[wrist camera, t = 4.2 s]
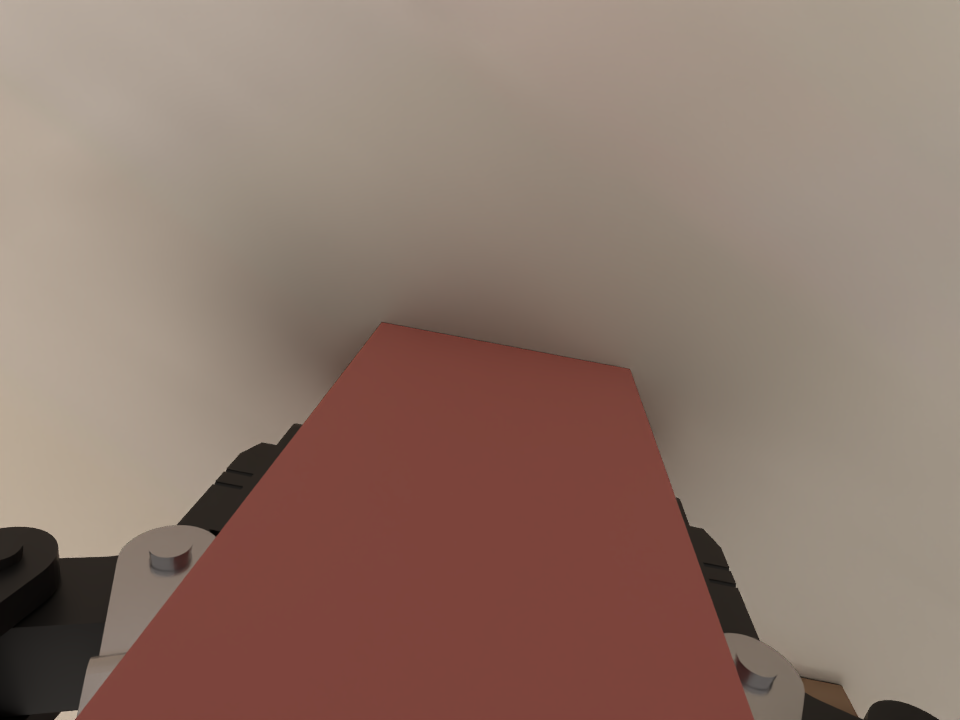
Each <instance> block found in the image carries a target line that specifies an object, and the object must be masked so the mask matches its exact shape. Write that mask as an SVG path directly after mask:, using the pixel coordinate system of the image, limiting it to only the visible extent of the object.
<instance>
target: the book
mask: <svg viewBox="0 0 960 720" xmlns="http://www.w3.org/2000/svg"><path fill="white" fill-rule="evenodd" d="M75 720H754V718H753V715H752V712H751V709H750V706H749V704H748V701H747V698H746V695H745V692H744V689H743V687H742V684H741V681H740V678H739V675H738V673H737V670H736V667H735V664H734V661H733V658H732V656H731V653H730V650H729V647H728V644H727V642H726V639H725V636H724V633H723V630H722V627H721V625H720V622H719V619H718V616H717V613H716V611H715V608H714V605H713V602H712V599H711V596H710V594H709V591H708V588H707V585H706V582H705V580H704V577H703V574H702V571H701V568H700V565H699V563H698V560H697V557H696V554H695V551H694V549H693V546H692V543H691V540H690V537H689V534H688V532H687V529H686V526H685V523H684V520H683V518H682V515H681V512H680V509H679V506H678V503H677V501H676V498H675V495H674V492H673V489H672V486H671V484H670V481H669V478H668V475H667V472H666V470H665V467H664V464H663V461H662V458H661V455H660V453H659V450H658V447H657V444H656V441H655V439H654V436H653V433H652V430H651V427H650V424H649V422H648V419H647V416H646V413H645V410H644V408H643V405H642V402H641V399H640V396H639V393H638V391H637V388H636V385H635V382H634V379H633V377H632V374H631V371H630V369H626V368H621V367H616V366H611V365H605V364H600V363H595V362H589V361H584V360H579V359H574V358H568V357H563V356H558V355H552V354H547V353H542V352H537V351H531V350H526V349H521V348H515V347H510V346H505V345H500V344H494V343H489V342H484V341H478V340H473V339H468V338H463V337H457V336H452V335H447V334H441V333H436V332H431V331H426V330H420V329H415V328H410V327H404V326H399V325H394V324H389V323H383V322H382V323H381V324H380V325H379V327H378V328H377V329H376V330H375V332H374V333H373V334H372V336H371V337H370V338H369V339H368V341H367V342H366V343H365V345H364V346H363V347H362V349H361V350H360V351H359V352H358V354H357V355H356V356H355V358H354V359H353V360H352V362H351V363H350V364H349V365H348V367H347V368H346V369H345V371H344V372H343V373H342V374H341V376H340V377H339V378H338V380H337V381H336V382H335V384H334V385H333V386H332V387H331V389H330V390H329V391H328V393H327V394H326V395H325V396H324V398H323V399H322V400H321V402H320V403H319V404H318V406H317V407H316V408H315V409H314V411H313V412H312V413H311V415H310V416H309V417H308V419H307V420H306V421H305V422H304V424H303V425H302V426H301V428H300V429H299V430H298V431H297V433H296V434H295V435H294V437H293V438H292V439H291V441H290V442H289V443H288V444H287V446H286V447H285V448H284V450H283V451H282V452H281V453H280V455H279V456H278V457H277V459H276V460H275V461H274V463H273V464H272V465H271V466H270V468H269V469H268V470H267V472H266V473H265V474H264V475H263V477H262V478H261V479H260V481H259V482H258V483H257V485H256V486H255V487H254V488H253V490H252V491H251V492H250V494H249V495H248V496H247V498H246V499H245V500H244V501H243V503H242V504H241V505H240V507H239V508H238V509H237V510H236V512H235V513H234V514H233V516H232V517H231V518H230V520H229V521H228V522H227V523H226V525H225V526H224V527H223V529H222V530H221V531H220V532H219V534H218V535H217V536H216V538H215V539H214V540H213V542H212V543H211V544H210V545H209V547H208V548H207V549H206V551H205V552H204V553H203V555H202V556H201V557H200V558H199V560H198V561H197V562H196V564H195V565H194V566H193V567H192V569H191V570H190V571H189V573H188V574H187V575H186V577H185V578H184V579H183V580H182V582H181V583H180V584H179V586H178V587H177V588H176V589H175V591H174V592H173V593H172V595H171V596H170V597H169V599H168V600H167V601H166V602H165V604H164V605H163V606H162V608H161V609H160V610H159V612H158V613H157V614H156V615H155V617H154V618H153V619H152V621H151V622H150V623H149V624H148V626H147V627H146V628H145V630H144V631H143V632H142V634H141V635H140V636H139V637H138V639H137V640H136V641H135V643H134V644H133V645H132V646H131V648H130V649H129V650H128V652H127V653H126V654H125V656H124V657H123V658H122V659H121V661H120V662H119V663H118V665H117V666H116V667H115V668H114V670H113V671H112V672H111V674H110V675H109V676H108V678H107V679H106V680H105V681H104V683H103V684H102V685H101V687H100V688H99V689H98V691H97V692H96V693H95V694H94V696H93V697H92V698H91V700H90V701H89V702H88V703H87V705H86V706H85V707H84V709H83V710H82V711H81V713H80V714H79V715H78V716H77V718H76V719H75Z"/></svg>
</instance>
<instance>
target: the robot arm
mask: <svg viewBox="0 0 960 720" xmlns="http://www.w3.org/2000/svg"><path fill="white" fill-rule="evenodd" d="M301 426H302V424H293V425H292V427H291V428H290V429H289V430H288V432H287V433H286V434H285V435H284V437H283V438H282V439H281V440H280V442H279V443H278V444H277V445H273V444H267V443H260V444H258V445H256V446H254V447H252V448H250V449H248V450H246V451H244V452H242V453H240V454H239V455H238V457H237V458H236V459H235V460H234V461H233V462H232V463H231V464H230V466H229V467H228V468H227V470H226V472H223V473H222V475H221V476H220V477H219V478H218V479H217V480H216V482H215V485H214V484H213V485H212V486H211V487H210V488H209V489H208V490H207V491H206V493H205V494H204V495H203V496H202V497H201V498H200V499H199V500H198V502H197V503H196V504H195V505H194V506H193V507H192V508H191V509H190V511H189V512H188V513H187V514H186V515H185V516H184V517H183V518H182V520H181V521H180V522H179V523H178V524H177V525H172V526H164V527H160V528H156V529H153V530H149V531H147V532H145V533H142V534H140V535H138V536H137V537H135V538H133V539H132V540H131V541H129V542H128V543H127V544H126V545H125V546H124V547H123V548H122V550H121V552H120V553H119V555H118V556H109V557H86V558H59V552H58V544H57V541H56V539H55V538H54V537H53V536H52V535H51V534H49V533H48V532H45V531H43V530H40V529H36V528H30V527H8V528H1V529H0V720H54V719H55V718H56V717H57V716H58V715H59V714H60V712H63V711H73V710H78V714H77V716H78V715H79V714H80V713H81V711H82V710H83V709H84V707H85V706H86V705H87V703H88V702H89V701H90V700H91V698H92V697H93V696H94V694H95V693H96V692H97V691H98V689H99V688H100V687H101V685H102V684H103V683H104V681H105V680H106V679H107V678H108V676H109V675H110V674H111V672H112V671H113V670H114V668H115V667H116V666H117V665H118V663H119V662H120V661H121V659H122V658H123V657H124V656H125V654H126V653H127V652H128V650H129V649H130V648H131V646H132V645H133V644H134V643H135V641H136V640H137V639H138V637H139V636H140V635H141V634H142V632H143V631H144V630H145V628H146V627H147V626H148V624H149V623H150V622H151V621H152V619H153V618H154V617H155V615H156V614H157V613H158V612H159V610H160V609H161V608H162V606H163V605H164V604H165V602H166V601H167V600H168V599H169V597H170V596H171V595H172V593H173V592H174V591H175V589H176V588H177V587H178V586H179V584H180V583H181V582H182V580H183V579H184V578H185V577H186V575H187V574H188V573H189V571H190V570H191V569H192V567H193V566H194V565H195V564H196V562H197V561H198V560H199V558H200V557H201V556H202V555H203V553H204V552H205V551H206V549H207V548H208V547H209V545H210V544H211V543H212V542H213V540H214V539H215V538H216V536H217V535H218V534H219V532H220V531H221V530H222V529H223V527H224V526H225V525H226V523H227V522H228V521H229V520H230V518H231V517H232V516H233V514H234V513H235V512H236V510H237V509H238V508H239V507H240V505H241V504H242V503H243V501H244V500H245V499H246V498H247V496H248V495H249V494H250V492H251V491H252V490H253V488H254V487H255V486H256V485H257V483H258V482H259V481H260V479H261V478H262V477H263V475H264V474H265V473H266V472H267V470H268V469H269V468H270V466H271V465H272V464H273V463H274V461H275V460H276V459H277V457H278V456H279V455H280V453H281V452H282V451H283V450H284V448H285V447H286V446H287V444H288V443H289V442H290V441H291V439H292V438H293V437H294V435H295V434H296V433H297V431H298V430H299V429H300V428H301ZM675 498H676V497H675ZM676 501H677V503H678V506H679V509H680V512H681V515H682V518H683V520H684V523H685V526H686V529H687V532H688V534H689V537H690V540H691V543H692V546H693V549H694V551H695V554H696V557H697V560H698V563H699V565H700V568H701V571H702V574H703V577H704V580H705V582H706V585H707V588H708V591H709V594H710V596H711V599H712V602H713V605H714V608H715V611H716V613H717V616H718V619H719V622H720V625H721V627H722V630H723V633H724V636H725V639H726V642H727V644H728V647H729V650H730V653H731V656H732V658H733V661H734V664H735V667H736V670H737V673H738V675H739V678H740V681H741V684H742V687H743V689H744V692H745V695H746V698H747V701H748V704H749V706H750V709H751V712H752V715H753V718H754V720H939V719H937V718H936V717H934V716H932V715H931V714H929V713H927V712H925V711H923V710H921V709H919V708H917V707H914V706H912V705H909V704H906V703H903V702H899V701H892V700H883V701H878V702H876V703H874V704H873V705H872V706H871V707H870V708H869V710H868V712H867V714H866V716H865V718H864V719H861V718H858V717H856V716H854V715H852V714H849V713H847V712H845V711H843V710H840V709H838V708H836V707H834V706H831V705H829V704H827V703H825V702H822V701H820V700H818V699H816V698H814V697H812V696H810V695H809V694H807V693H805V689H804V685H803V682H802V680H801V678H800V676H799V674H798V672H797V671H796V669H795V668H794V667H793V666H792V665H791V663H790V662H789V661H788V660H787V659H786V658H785V657H784V656H782V655H781V654H780V653H779V652H777V651H776V650H775V649H773V648H772V647H770V646H769V645H767V644H765V643H763V642H761V641H760V640H759V638H758V635H757V633H756V631H755V628H754V626H753V623H752V621H751V619H750V616H749V614H748V611H747V609H746V607H745V604H744V602H743V599H742V597H741V595H740V592H739V590H738V588H736V583H735V580H734V578H733V576H732V573H731V571H729V566H728V564H727V561H726V559H725V556H724V554H723V552H722V549H721V547H720V546H719V545H718V544H717V543H716V542H715V541H714V540H713V539H712V538H711V537H710V536H709V535H708V534H707V533H706V531H705V530H704V529H702V528H696V527H691V526H689V523H688V520H687V517H686V515H685V512H684V509H683V506H682V504H681V501H680V499H679V498H676Z"/></svg>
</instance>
